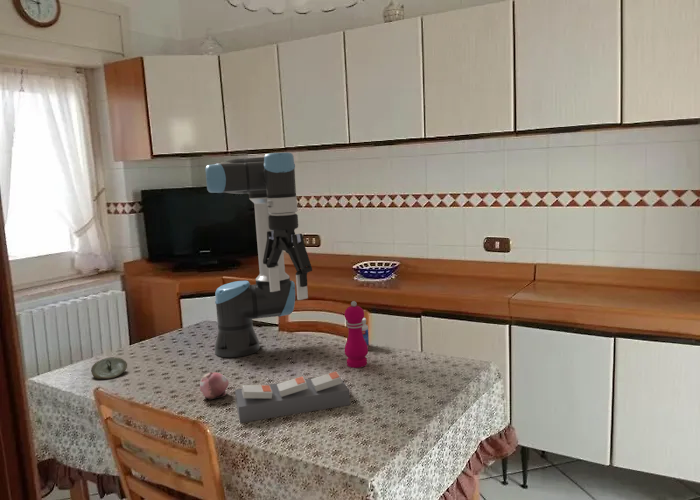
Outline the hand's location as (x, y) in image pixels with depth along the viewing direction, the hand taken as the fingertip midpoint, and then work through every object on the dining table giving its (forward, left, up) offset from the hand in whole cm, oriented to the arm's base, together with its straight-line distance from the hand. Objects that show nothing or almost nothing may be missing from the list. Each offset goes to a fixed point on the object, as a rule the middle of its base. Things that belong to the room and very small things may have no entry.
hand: (288, 295), depth 153 cm
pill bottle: (-34, +28, -28) cm, 53 cm away
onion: (-9, -21, -28) cm, 36 cm away
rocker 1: (+6, -11, -23) cm, 26 cm away
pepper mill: (-18, +22, -28) cm, 41 cm away
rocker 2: (+6, -2, -23) cm, 23 cm away
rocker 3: (+6, +7, -23) cm, 24 cm away
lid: (-41, -52, -29) cm, 72 cm away
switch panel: (+4, -2, -28) cm, 28 cm away
